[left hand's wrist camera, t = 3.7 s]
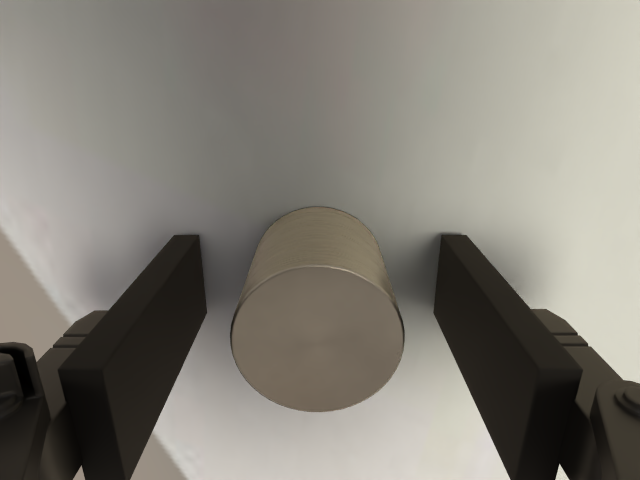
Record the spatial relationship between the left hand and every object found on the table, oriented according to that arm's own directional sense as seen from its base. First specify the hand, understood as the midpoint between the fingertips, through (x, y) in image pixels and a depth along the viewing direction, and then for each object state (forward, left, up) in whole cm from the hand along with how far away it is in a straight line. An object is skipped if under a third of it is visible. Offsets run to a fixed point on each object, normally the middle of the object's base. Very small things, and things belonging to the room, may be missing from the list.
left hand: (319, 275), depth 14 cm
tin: (0, 0, 0) cm, 0 cm away
